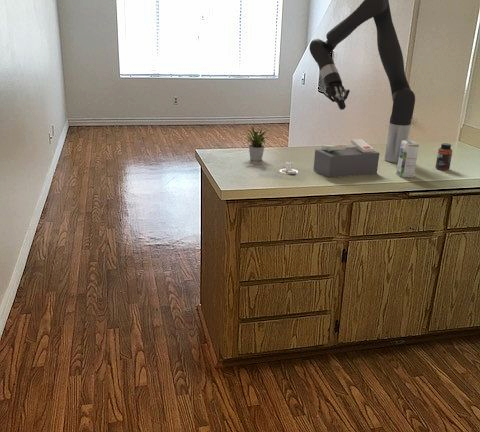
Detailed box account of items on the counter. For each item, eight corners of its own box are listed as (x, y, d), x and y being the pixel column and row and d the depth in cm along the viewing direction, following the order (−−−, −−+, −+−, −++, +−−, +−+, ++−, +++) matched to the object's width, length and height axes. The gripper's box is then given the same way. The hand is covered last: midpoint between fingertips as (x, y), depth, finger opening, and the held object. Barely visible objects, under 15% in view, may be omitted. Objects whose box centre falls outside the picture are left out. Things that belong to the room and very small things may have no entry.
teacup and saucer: (297, 176, 216) (297, 166, 215) (277, 174, 218) (278, 165, 216) (299, 170, 225) (299, 161, 223) (280, 169, 226) (281, 159, 224)
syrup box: (395, 173, 225) (400, 140, 219) (409, 173, 225) (414, 140, 220) (400, 177, 219) (405, 143, 214) (414, 177, 220) (419, 143, 215)
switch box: (360, 166, 234) (362, 146, 231) (376, 173, 224) (379, 152, 220) (313, 170, 225) (315, 149, 222) (328, 177, 214) (330, 156, 211)
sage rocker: (332, 150, 223) (332, 144, 223) (345, 151, 214) (345, 145, 214) (321, 151, 222) (321, 145, 221) (335, 151, 212) (335, 145, 212)
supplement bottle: (449, 168, 236) (453, 143, 232) (449, 171, 231) (454, 146, 227) (435, 166, 238) (439, 141, 234) (435, 169, 233) (439, 144, 229)
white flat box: (359, 143, 228) (360, 138, 227) (372, 153, 221) (374, 148, 219) (349, 144, 226) (351, 139, 225) (362, 154, 219) (364, 149, 218)
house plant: (232, 160, 234) (233, 124, 228) (243, 154, 246) (245, 119, 240) (262, 165, 229) (264, 127, 223) (272, 158, 241) (275, 122, 235)
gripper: (322, 71, 233) (334, 104, 227) (347, 71, 238) (359, 103, 232) (314, 82, 239) (326, 114, 233) (339, 82, 244) (351, 113, 238)
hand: (343, 108), depth 233 cm, fingers closed
